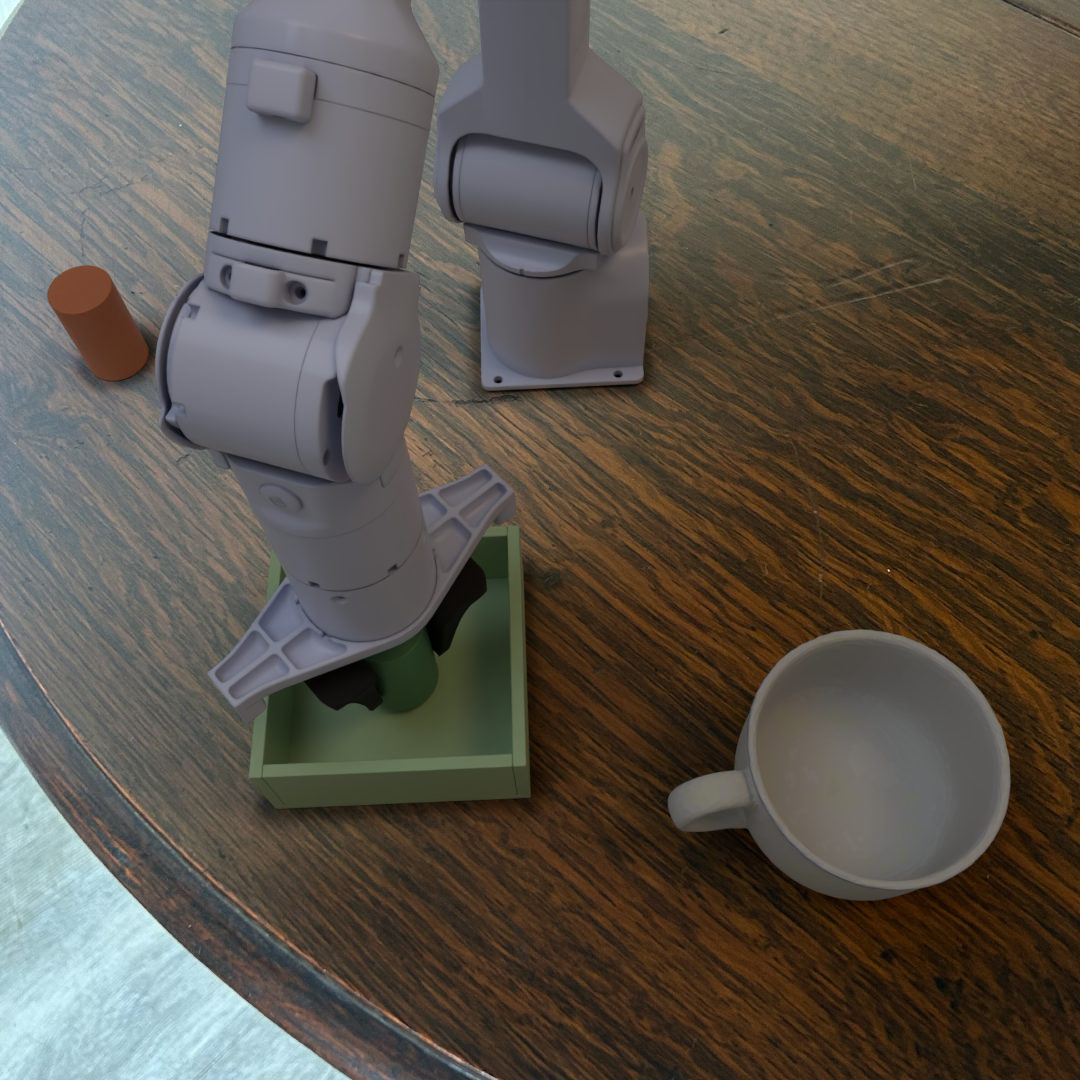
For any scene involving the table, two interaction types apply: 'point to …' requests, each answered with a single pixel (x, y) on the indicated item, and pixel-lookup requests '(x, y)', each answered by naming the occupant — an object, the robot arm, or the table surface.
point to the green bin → (414, 715)
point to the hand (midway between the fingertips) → (399, 665)
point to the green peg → (406, 672)
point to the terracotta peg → (98, 322)
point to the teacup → (861, 769)
